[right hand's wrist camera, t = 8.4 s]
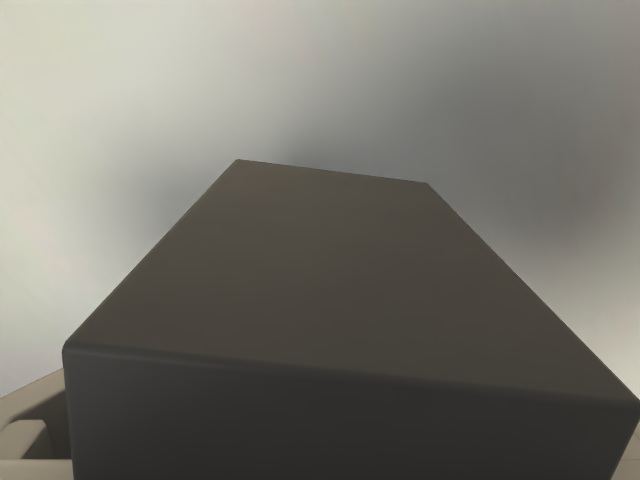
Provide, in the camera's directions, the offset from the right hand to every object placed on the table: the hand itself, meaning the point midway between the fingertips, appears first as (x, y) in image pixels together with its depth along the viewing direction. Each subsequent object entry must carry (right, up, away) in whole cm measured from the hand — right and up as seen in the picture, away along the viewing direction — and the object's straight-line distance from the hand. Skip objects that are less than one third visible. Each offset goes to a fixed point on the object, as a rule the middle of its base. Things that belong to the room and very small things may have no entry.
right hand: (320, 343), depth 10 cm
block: (-1, -9, +7) cm, 11 cm away
